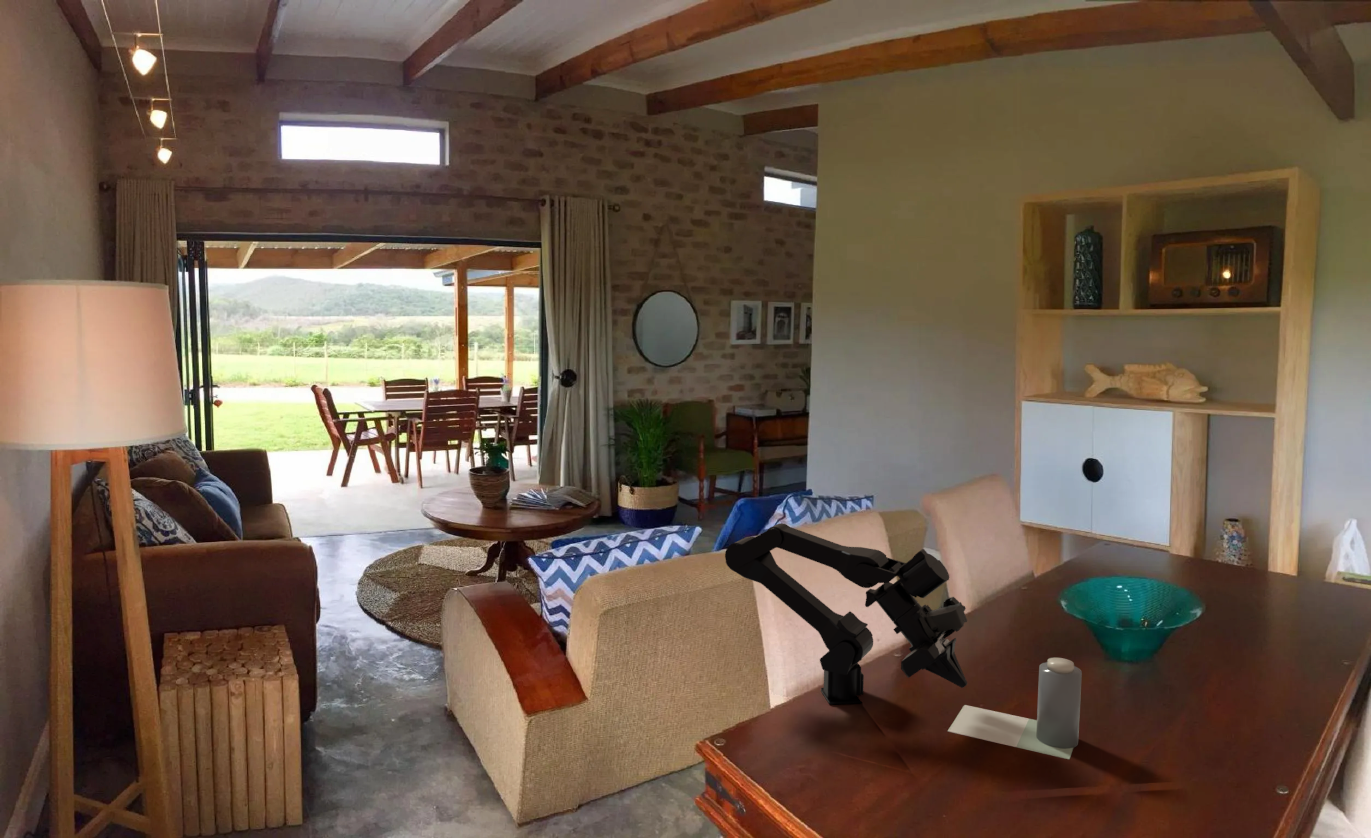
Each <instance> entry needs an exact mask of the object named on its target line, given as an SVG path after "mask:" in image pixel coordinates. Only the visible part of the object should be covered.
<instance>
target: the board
mask: <svg viewBox="0 0 1371 838" xmlns="http://www.w3.org/2000/svg"><path fill="white" fill-rule="evenodd" d="M1036 729H1037V719H1033V718H1027V717H1023V716H1018V715H1014V714H1013V715H1012V714H1009V713H1005V712H1000V711H996V710H995V711H994V710H990V709H986V708H981V707H977V706H971V705H967V704H964V705H963V706H962V708H961V710H960V711H959V712H958V714H957V716H956V717H955V719H954V721H953V722H952V724H951V725H950V727H949V728H948V730H947V732H949V733H953V734H956V735H957V734H958V735H960V736H961V735H962V736H966V737H971V738H973V739H980V740H984V741H986V742H987V741H988V742H992V743H997V744H1001V745H1006V746H1009V747H1014V748H1018V749H1023V750H1027V751H1032V752H1036V753H1040V754H1043V755H1048V756H1053V757H1056V758H1061V759H1065V760H1066V759H1067V760H1070V759H1071V756H1072V753H1073V750H1074V747H1073V748H1066V749H1064V748H1056V747H1051V746H1048V745H1046V744H1044V743H1042V742H1040V741H1039V740H1038V739H1037V737H1036Z"/></svg>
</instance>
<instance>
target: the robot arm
mask: <svg viewBox="0 0 1371 838" xmlns="http://www.w3.org/2000/svg"><path fill="white" fill-rule="evenodd" d="M776 548H778V549H781V550H784V551H785V552H789V553H791V554H794V555H797V556H798V557H799V556H800V557H802V558H805V559H808V560H810V561H813V562H815V563H818V564H821V565H825V566H826V567H829V568H832V569H834V570H836V572H838V573H839V574H840V575H841V576H843V578H845V579H846V580H848V581H849V582H851V583H853V584H855V585H857V586H859V587H861V588H863V589H868V590H866V592H865V602H864V603H865V604H864V605H865V606H864V607H866V608H869V607H870V606H872V605H873V604H874V603H877V604H878V606H880V608H881V609H882V610H883V611H884V613H885V614H886V615H887V617H888V618H889V619H890V620H891V622H892V623H893V624H894V625H895V627H894V628H893V631H894V632H895V634H896V635H898V634H899V633H901V634H902V635H903V637H904V638H905V639H906V640H907V642H908V643H909V644H910V645H911V646H909V648H908V650H909V651H910V652H909V653H908V654H907V655H905V657H904V658H903V659H902V660H901V662H900V669H901V671H902V672H903V673H904V674H905V676H906V677H907V679H908V678H911V677H912V676H914V675H915V674H916V673H918V672H919V671H921V670H926V671H928V672H930V673H932V674H934V675H937V676H938V677H940V678H942V679H944V680H945V681H948V682H950V683H951V684H954V685H956V686H957V687H959V688H961V689H962V688H963V689H964V688H965V687H966V686H967V685H968V681H967V679H966V676H965V675H964V672H963V670H962V667H961V665H960V663H959V661H958V659H957V656H956V654H955V653H956V651H955V648H956V642H957V637H955V638H953V639H951V640H950V639H948V637H949V636H950V635H952V634H953V633H954V632H958V631H960V630H961V629H962V628H963V627H964V624H965V623H967V622H968V618H967V616H966V614H965V611H966V609H967V608H966V605H963V604H962V602H961V601H960V602H959V600H958V599H956V597H955V596H951V597H947V598H945V599H944V600H943V605H942V606H940V607H939V608H937V609H934V610H933V609H931V607H930V606H929V605H928V604H923V605H921V604H920V602H918V600H917V599H916V598H920V599H925V598H926V597H928V596H929V595H930V594H931V593H933V592H934V591H936V590H937V589H938V588H940V587H941V586H943V585H944V584H945V583H946V582H948V581H950V574H949V572H948V569H947V568H946V566H945V565H944V564H943V562H942V561H941V560H940V559H939V560H938V558H936V557H935V556H934V555H932V554H930V553H928V552H927V550H925V549H924V548H922V549H920V550H919V551H918V552H917V553H916V554H914V556H913V557H912V558H911V559H910V560H908V561H907V562H904V561H900V560H897V559H893V558H891V557H888V556H887V555H886V553H884V552H882V551H881V550H879V549H875V548H869V547H861V546H846V545H842V544H839V543H836V542H833V541H830V540H827V539H824V538H822V537H819V536H817V535H814V534H811V533H808V532H805V531H802V530H800V529H798V528H794V527H791V526H789V525H788V524H786V523H783V522H782V523H778V524H777V523H776V524H774V525H772V526H771V527H769V528H767V530H766V531H764V532H762V533H760V534H758V535H757V536H745V537H743V538H742V539H739V540H738V541H735V542H733V543H731V544H729V545H728V546H727V548H726V550H725V551H724V553H725V554H724V558H725V564H726V566H727V567H728V569H730V570H731V571H733V572H734V573H736V574H738V575H739V576H741V577H743V578H744V579H747V580H750V581H753V582H756V583H759V584H761V585H762V586H763V587H764V588H766V589H767V590H768V591H769V592H770V593H771V594H773V595H774V596H775V597H776V598H778V599H779V600H780V601H781V602H783V604H784V605H786V606H787V607H788V608H790V610H792V611H793V612H794V613H796V614H797V615H798V616H799V617H800V618H801V619H802V620H804V621H805V622H806V623H808V625H810V626H811V627H812V628H813V629H815V630H816V632H818V634H819V635H820V637H821V639H822V641H823V643H824V645H825V647H826V649H827V650H828V651H827V652H826V653H825V654H824V655H822V657H820V658H819V663H820V666H821V669H822V670H823V687H821V688H820V692H821V693H822V695H823V697H824V698H825V699H826V701H827V703H828V704H829V705H846V704H848V705H849V704H862V703H863V702H862V700H861V699H860V698H859V696H862V695H864V680H865V677H864V674H863V672H862V666H861V665H860V664H859V662H860V661H862V660H863V658H865V657H866V655H867V654H868V653H869V652H871V651H872V649H873V646H874V638H873V633H872V632H871V630H870V629H869V628H868V627H867V626H868V623H866V622H863V621H862V620H860V619H859V618H858V617H857V615H856V614H855V613H853V612H852V611H850V610H849V611H847V613H845V614H844V615H842V614H839V613H837V612H835V611H833V610H832V609H831V608H830V607H828V605H826V604H825V603H824V602H822V601H821V600H820V599H819V598H818V597H816V596H815V595H814V594H813V593H812V592H811V591H809V590H808V589H807V588H805V586H803V585H802V584H800V583H799V582H798V581H797V580H796V579H795V578H793V577H792V576H791V575H790V574H788V573H787V571H785V570H784V569H782V568H781V567H780V566H779V565H778V564H777V562H776V560H775V558H774V556H773V554H772V552H771V551H773V550H775V549H776ZM896 577H898V578H899V579H898V580H897V581H895V582H893V583H892V582H891V581H892V580H894V579H895V578H896ZM878 584H881V585H879V587H877V588H876V589H874V588H873V587H875V586H876V585H878ZM872 588H873V589H872Z"/></svg>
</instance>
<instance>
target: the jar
mask: <svg viewBox="0 0 1371 838" xmlns="http://www.w3.org/2000/svg"><path fill="white" fill-rule="evenodd" d="M1074 663H1075V662H1073V661H1072V660H1070V659H1067V658H1062V657H1049V658H1048V659H1047V661H1046V662H1042V663H1041V664H1039V668H1038V685H1037V686H1038V689H1037V709H1036V714H1037V715H1036V720H1037V729H1036V737H1037V739H1038V740H1039V741H1040V742H1042V743H1044V744H1046V745H1048V746H1051V747H1056V748H1064V749H1066V748H1073V749H1074V748H1077V746H1078V745H1079V734H1080V733H1079V731H1080V715H1081V696H1082V695H1081V692H1082V678H1083V677H1082V676H1083V674H1082V673H1083V672H1082V670H1081V669H1080V668H1079V667H1077V666H1075V664H1074Z"/></svg>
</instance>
